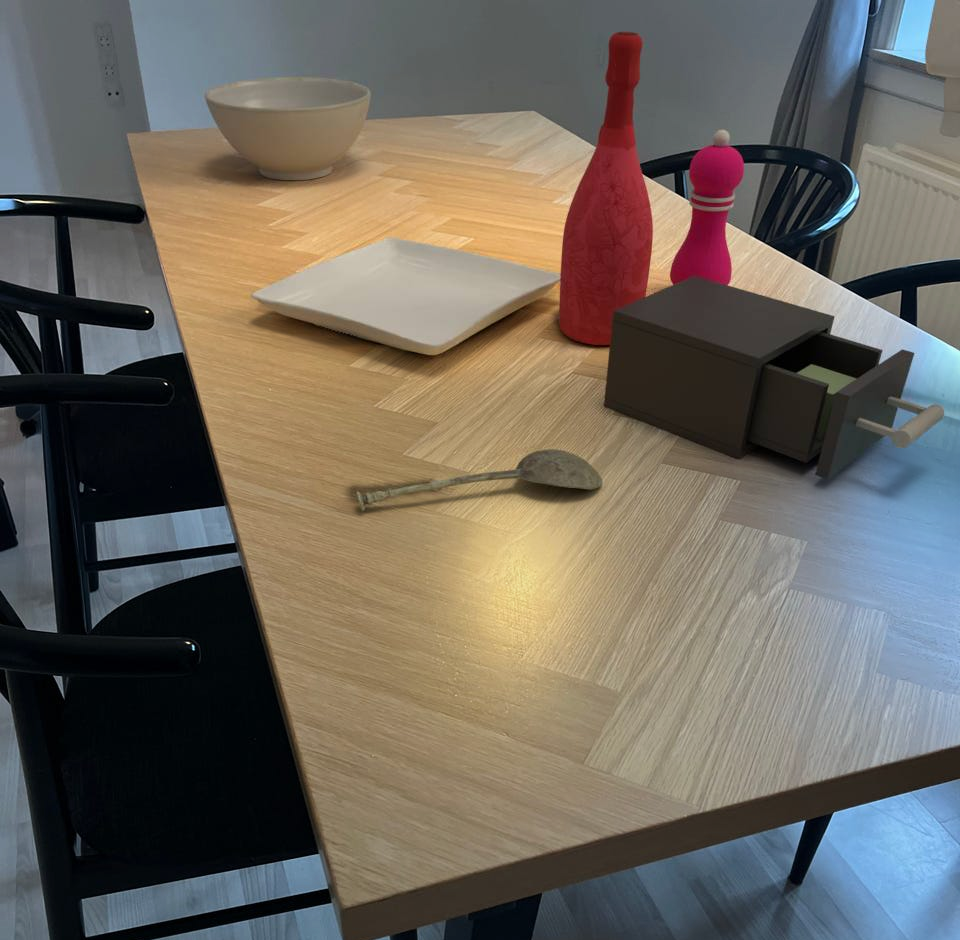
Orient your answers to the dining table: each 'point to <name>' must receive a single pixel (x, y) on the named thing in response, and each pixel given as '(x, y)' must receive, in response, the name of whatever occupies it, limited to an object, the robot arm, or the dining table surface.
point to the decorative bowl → (290, 122)
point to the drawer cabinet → (701, 358)
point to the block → (835, 384)
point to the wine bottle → (608, 214)
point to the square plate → (408, 294)
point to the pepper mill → (709, 213)
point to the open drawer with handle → (835, 403)
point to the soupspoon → (515, 475)
